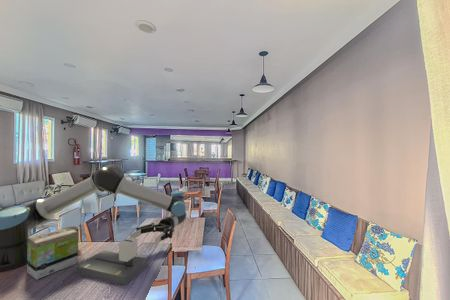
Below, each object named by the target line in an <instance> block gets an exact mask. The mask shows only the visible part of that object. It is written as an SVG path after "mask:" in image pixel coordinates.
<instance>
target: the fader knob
mask: <svg viewBox="0 0 450 300" xmlns="http://www.w3.org/2000/svg"><path fill="white" fill-rule="evenodd" d="M118 253H119V260H120V261H124V266H128V267H129V266H130V265H132V264H133V257H135V256H136V257H137V255H138V237H136V238H131V237H128V238H125V239H123V240H122V241H121V242H119V243H118Z"/></svg>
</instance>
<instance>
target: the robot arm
mask: <svg viewBox="0 0 450 300" xmlns="http://www.w3.org/2000/svg"><path fill="white" fill-rule="evenodd" d="M98 192H101V193H103V192H108V193H111V194H113V195H118V194H120V195H123V196H124V197H125V196H126V197H129V198H131V199H134V200H136V201H138V202H142V203H144V204H147V205H149V206H153V207H156V208H157V209H161V210H164V211H166V212H168V213H170V214H169V215H167V216H165V217H163V218H162V219H160V221H159V222H158V223H156V224H155V222H151V223H149V224H146V225H141V226H138V227H136V228H135V229H136V230H135V231H134V232H132V233H130V235H129V236H130V237H131V238H138V237H140V236H141V235H142V234H147V233H157V232H159V233H161V234H160V235H158V236H157V237H155V239H154V245H158V244H159V243H161V242H162V241H165V240H166V239H168V238H169V239H172V238H173V235H174V234H173V233H174V232H175V228H176V227H177V226H179V225H181V224H182V223H184V222H185V220H187V216H188V214H187V212H186V211H187V205H186V203H185V195H184V194H185V192H184V191H181V190H175V191H172V192H171V193H170V195H168V194H166V193H163V192H162V191H158V190H155V189H152V188H151V187H148V186H145V185H142V184H140V183H137V182H135V181H132V180H129V179H127V177H126V176H125V171H124V170H123V168H122V167H121V166H119V165H118V164H108V165H106V166H103V167H101V168H99V169H98V170H95V171H94V172H92V173H90V177H88V178H86V179H84V180H82V181H80V182H78V183H76V184H73V185H72V186H70V187H68V188H66V189H64V190H61V191H60V192H58V193H56V194H53V195H52V196H49V197H48V198H39V199H36V200H35V201H33V202H31V203H28V204H26V205H24V206H18V207H11V208H10V207H9V208H8V209H3V210H0V272H2V273H3V272H6V271H11V270H13V269H16V268H19V267H22V266H24V265H27V250H28V238H30V235H29V233H30V232H29V231H31V230H33V229H34V228H36V227H38V226H39V225H40V226H41V224H43V223H45V222H48V221H49V220H51V219H53V217H54V215H55V214H56V213H59V212H60V211H62V210H64V209H66V208H68V207H70V206H72V205H74V204H76V203H78V202H80V201H82V200H84V199H86V198H88V197H89V196H92V195H93V194H95V193H98Z"/></svg>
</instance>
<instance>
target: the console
mask: <svg viewBox="0 0 450 300" xmlns="http://www.w3.org/2000/svg"><path fill="white" fill-rule="evenodd" d="M147 267H149V258H146V257H139V256H137V255H136V256H135V257H133V264H132V265H130V266H129V267H128V266H124V261H120V260H119V252H113V251H109V250H105V249H104V250H102V251H100V252H98V253H96V254H95V255H93V256H91V257H89V258H88V259H85V260H83V261H82V262H80V263H79V264H78V263H77V264H75V274H79V275H82V276H87V277H91V278H95V279H98V280H103V281H107V282H110V283H115V284H117V285H118V284H119V285H123V286H125V285H128V283H129V282H131V281H132V280H133V279H134V278H135V277H136V276H138V275H139V274H140V273H141V272H143V271H144V270H145V269H146V268H147Z"/></svg>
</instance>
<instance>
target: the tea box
mask: <svg viewBox="0 0 450 300" xmlns="http://www.w3.org/2000/svg"><path fill="white" fill-rule="evenodd" d="M66 227H67V228H65V227H63V228H64V229H62V228H60V230H59V229H57V230H53V231H49V232H46V233H41V234H38V235H34V236H29V238H28V250H27V263H26V272H27V274H29V275H30V276H31V277H32V278H34V279H35V280H37V281H38V280H40V279H41V278H43V277H46V276H49V275H51V274H53V273H56V272H59V271H61V270H63V269H66V268H69V267H71V266H75V265H78V261H79V230H78V231H75V230H73V229H71V228H69V227H70V226H66Z"/></svg>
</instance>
